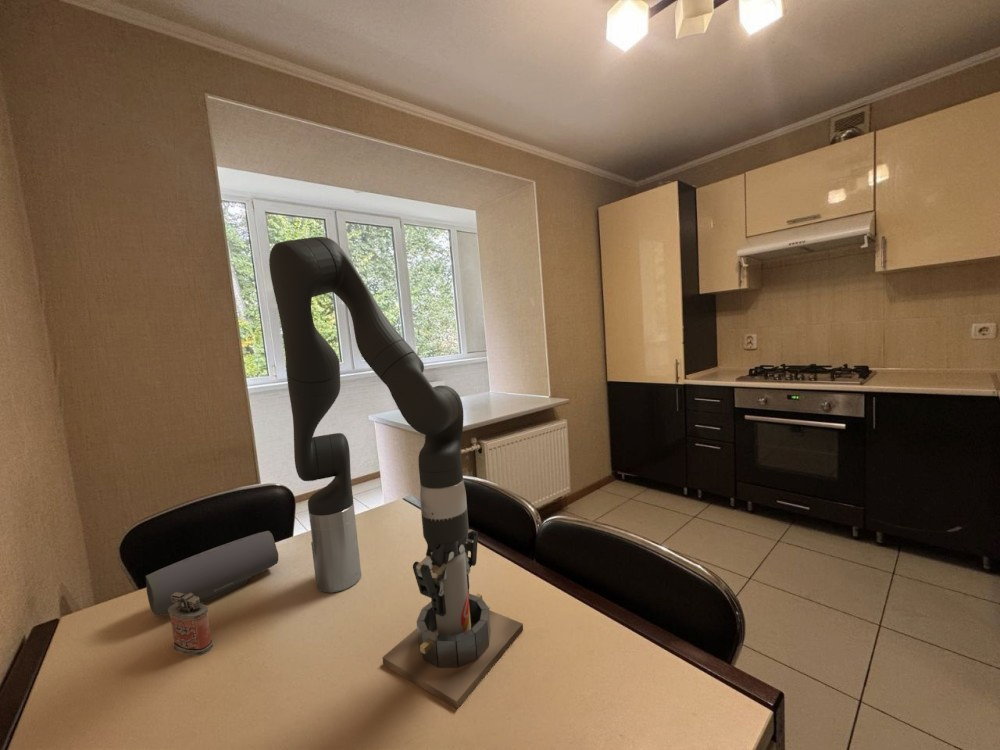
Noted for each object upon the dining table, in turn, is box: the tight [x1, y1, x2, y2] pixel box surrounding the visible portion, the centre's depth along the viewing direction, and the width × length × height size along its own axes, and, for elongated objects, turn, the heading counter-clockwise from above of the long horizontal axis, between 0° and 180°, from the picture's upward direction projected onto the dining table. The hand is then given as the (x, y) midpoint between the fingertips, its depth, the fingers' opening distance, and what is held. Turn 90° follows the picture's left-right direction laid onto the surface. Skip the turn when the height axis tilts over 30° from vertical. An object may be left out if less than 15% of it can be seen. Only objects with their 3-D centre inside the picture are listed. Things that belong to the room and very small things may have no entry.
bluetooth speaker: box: [145, 530, 279, 618], centre depth 91 cm, size 23×9×10 cm, turn 139°
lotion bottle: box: [431, 541, 471, 636], centre depth 69 cm, size 6×6×20 cm
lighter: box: [168, 592, 214, 656], centre depth 74 cm, size 8×3×10 cm, turn 71°
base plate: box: [382, 605, 524, 710], centre depth 71 cm, size 16×19×1 cm
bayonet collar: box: [416, 593, 491, 668], centre depth 70 cm, size 12×15×4 cm
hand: (452, 603), depth 70 cm, fingers closed on lotion bottle, 5 cm apart
